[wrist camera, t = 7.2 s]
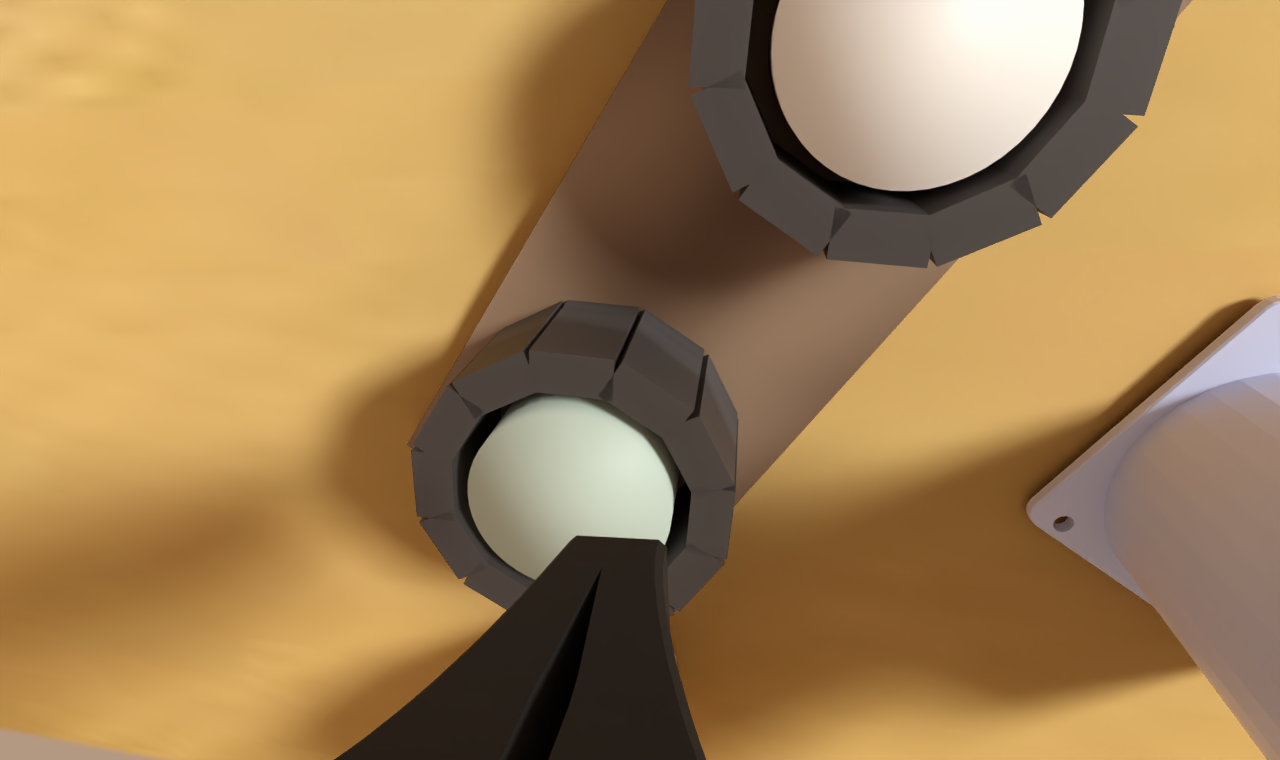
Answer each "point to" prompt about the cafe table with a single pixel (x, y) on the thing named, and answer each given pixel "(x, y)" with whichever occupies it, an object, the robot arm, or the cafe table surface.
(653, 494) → the peg sage
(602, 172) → the collar board
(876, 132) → the peg cream
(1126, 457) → the robot arm
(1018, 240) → the cafe table surface
